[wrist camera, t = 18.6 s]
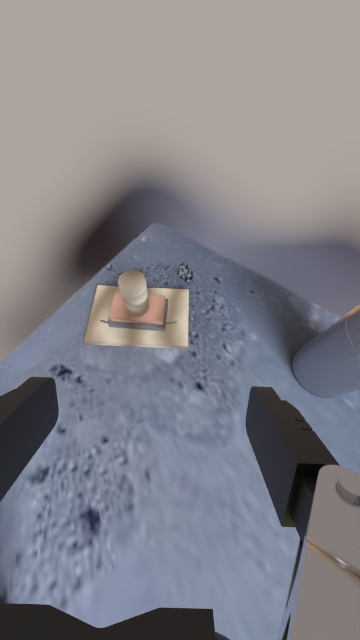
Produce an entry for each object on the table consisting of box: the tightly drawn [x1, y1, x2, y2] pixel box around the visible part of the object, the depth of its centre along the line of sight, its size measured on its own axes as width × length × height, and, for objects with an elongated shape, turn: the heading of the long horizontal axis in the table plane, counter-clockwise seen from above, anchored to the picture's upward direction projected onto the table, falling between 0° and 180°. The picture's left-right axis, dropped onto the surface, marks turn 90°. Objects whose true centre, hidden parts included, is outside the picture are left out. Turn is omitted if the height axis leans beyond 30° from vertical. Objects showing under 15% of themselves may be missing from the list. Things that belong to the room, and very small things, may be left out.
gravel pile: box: [177, 263, 200, 283], centre depth 49 cm, size 7×8×2 cm
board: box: [84, 285, 189, 349], centre depth 43 cm, size 18×12×2 cm, turn 88°
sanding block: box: [108, 270, 168, 331], centre depth 38 cm, size 10×6×10 cm, turn 86°
